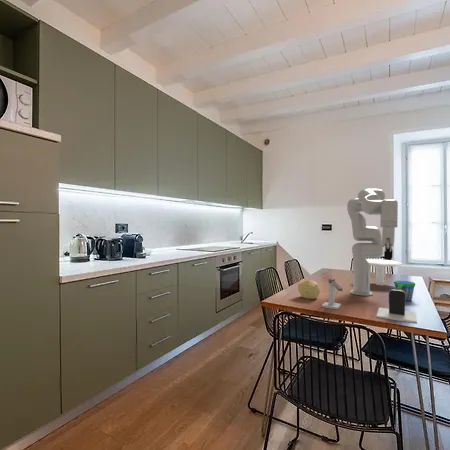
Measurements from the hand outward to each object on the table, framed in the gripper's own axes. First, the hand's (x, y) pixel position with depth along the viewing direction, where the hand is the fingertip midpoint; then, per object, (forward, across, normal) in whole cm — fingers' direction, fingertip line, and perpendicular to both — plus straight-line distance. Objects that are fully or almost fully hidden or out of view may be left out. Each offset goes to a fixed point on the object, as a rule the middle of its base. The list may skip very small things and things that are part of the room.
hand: (388, 258), depth 153 cm
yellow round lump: (+27, -6, -41) cm, 49 cm away
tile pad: (+26, +6, +4) cm, 27 cm away
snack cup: (+26, -31, +7) cm, 41 cm away
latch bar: (+14, +15, -22) cm, 30 cm away
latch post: (+26, +6, -26) cm, 37 cm away
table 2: (+26, -71, -8) cm, 76 cm away
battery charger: (+26, +5, +4) cm, 27 cm away
